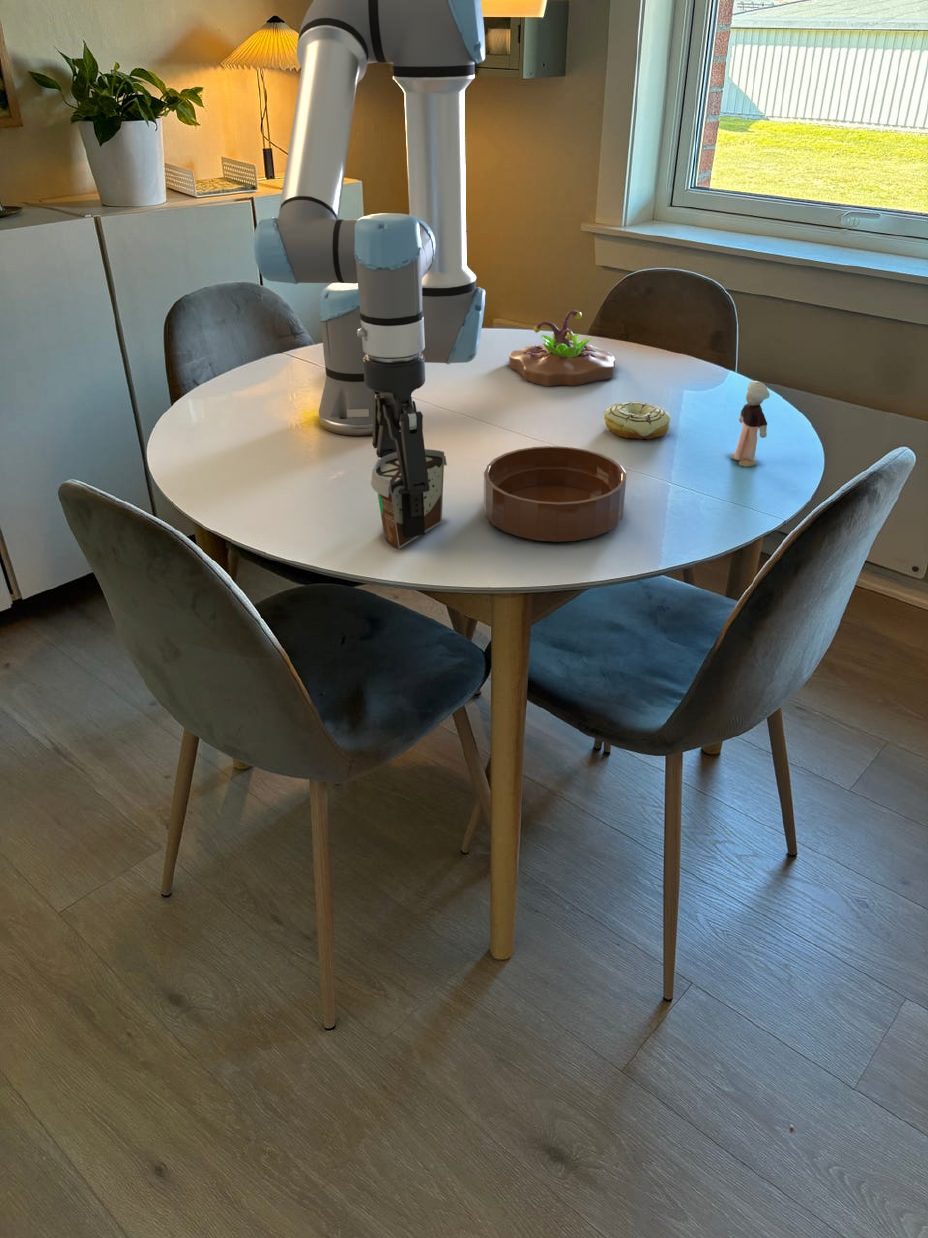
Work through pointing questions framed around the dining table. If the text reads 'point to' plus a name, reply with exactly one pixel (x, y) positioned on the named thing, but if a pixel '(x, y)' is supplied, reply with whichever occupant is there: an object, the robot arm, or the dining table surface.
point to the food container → (390, 502)
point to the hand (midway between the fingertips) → (402, 518)
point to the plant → (562, 359)
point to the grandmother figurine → (751, 424)
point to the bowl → (554, 493)
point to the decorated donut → (637, 420)
